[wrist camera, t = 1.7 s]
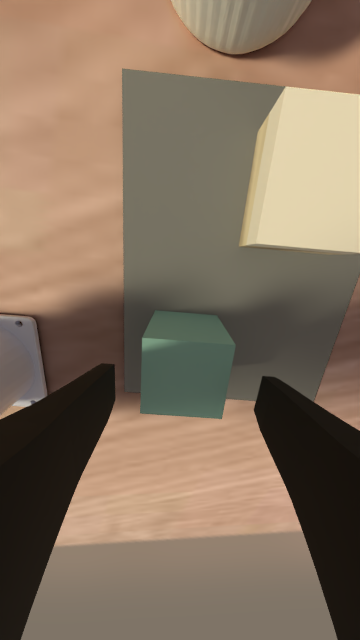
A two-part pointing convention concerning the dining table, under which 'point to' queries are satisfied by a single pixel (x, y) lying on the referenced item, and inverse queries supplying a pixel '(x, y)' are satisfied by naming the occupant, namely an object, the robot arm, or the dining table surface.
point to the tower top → (310, 174)
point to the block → (185, 365)
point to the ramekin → (239, 21)
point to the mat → (217, 235)
